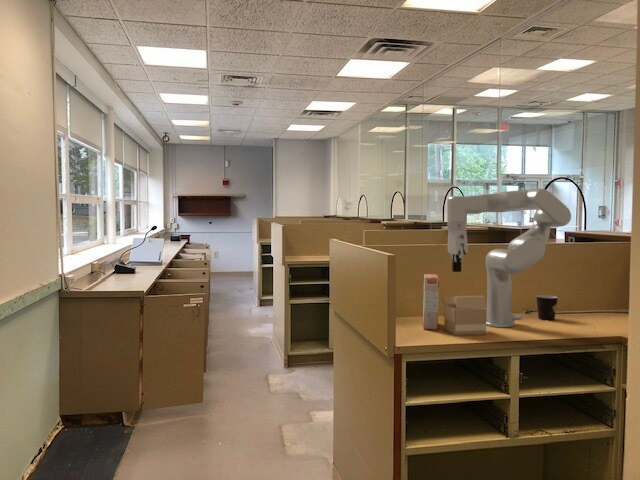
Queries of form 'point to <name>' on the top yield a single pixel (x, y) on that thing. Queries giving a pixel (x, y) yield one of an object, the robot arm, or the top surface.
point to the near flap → (470, 302)
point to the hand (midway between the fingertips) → (456, 271)
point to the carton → (465, 320)
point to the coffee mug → (546, 307)
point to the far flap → (449, 300)
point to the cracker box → (430, 301)
